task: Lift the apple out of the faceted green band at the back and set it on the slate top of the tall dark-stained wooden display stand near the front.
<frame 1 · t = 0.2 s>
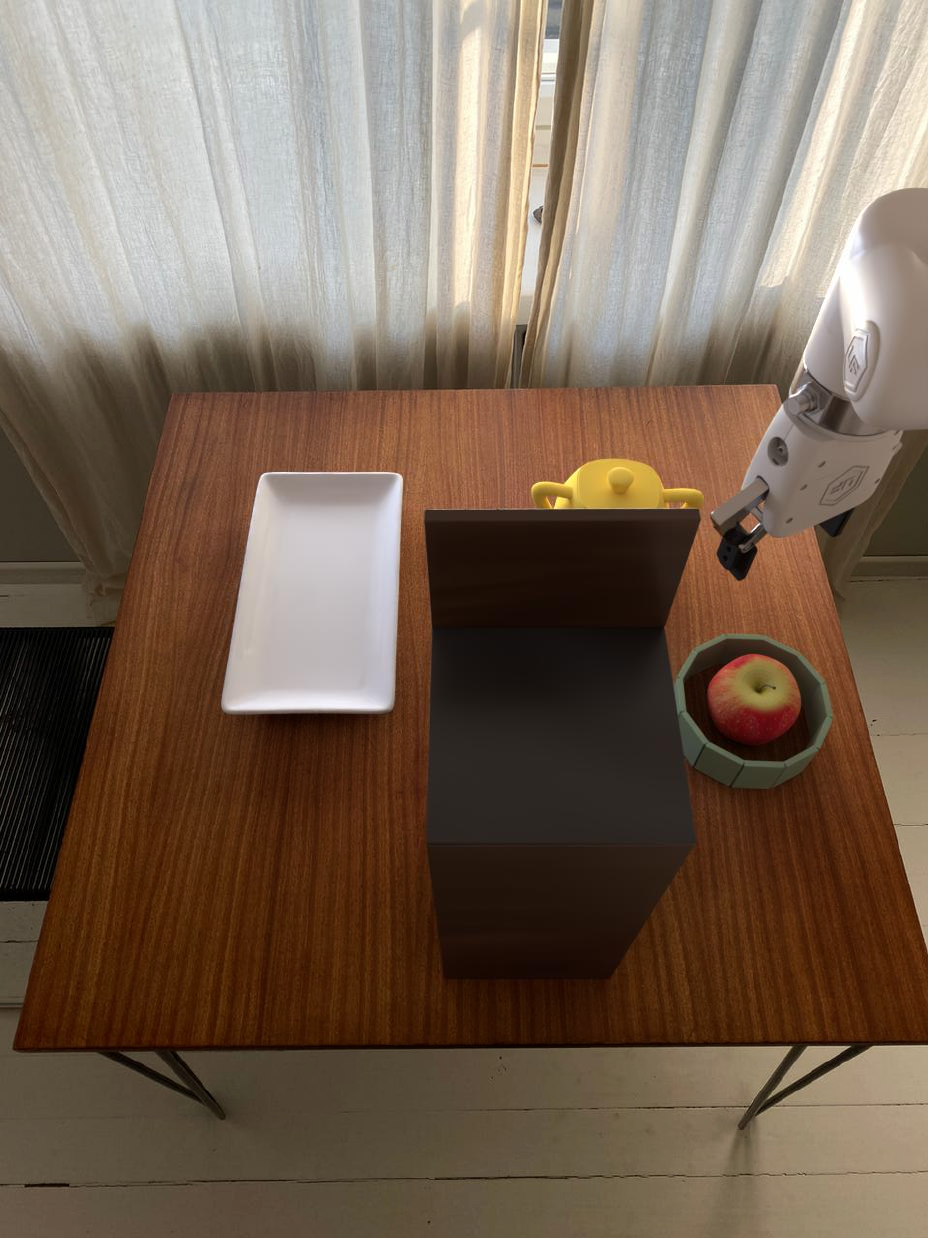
hand: (777, 545, 72), 21 cm above the table, tool pointing down, fingers open, 9 cm apart
faceted green band: (740, 721, 86), on the table
tray: (324, 599, 95), on the table
stand: (523, 895, 77), on the table
yellow two-handled pot: (606, 562, 98), on the table
apple: (740, 722, 87), resting in faceted green band
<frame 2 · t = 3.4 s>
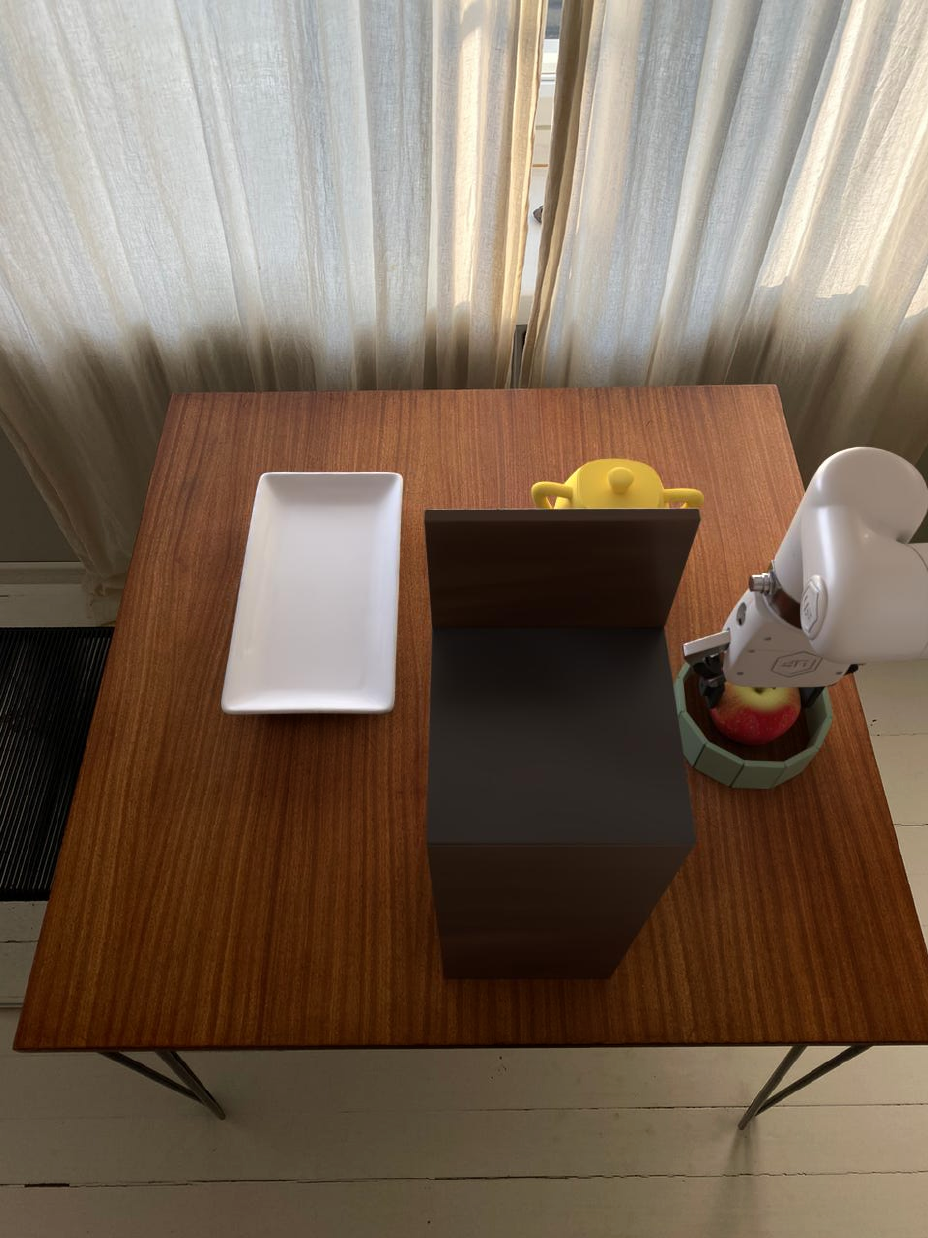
hand: (755, 694, 82), 5 cm above the table, tool pointing down, fingers closed on apple, 8 cm apart
apple: (740, 722, 87), resting in faceted green band, touching gripper
everything else where it was.
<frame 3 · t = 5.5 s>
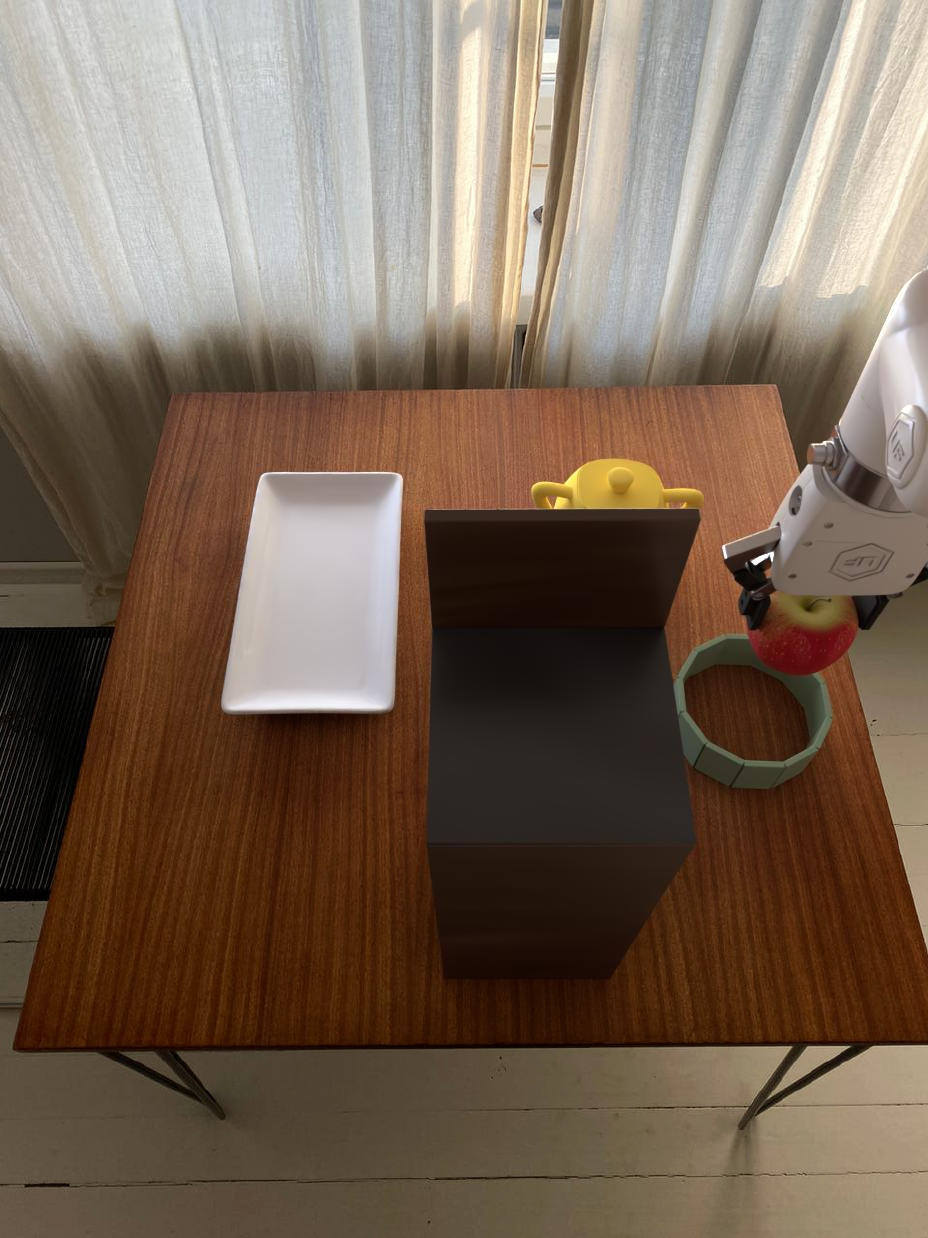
hand: (804, 615, 70), 20 cm above the table, tool pointing down, fingers closed on apple, 8 cm apart
apple: (783, 653, 75), point 14 cm above the table, touching gripper
everything else where it was.
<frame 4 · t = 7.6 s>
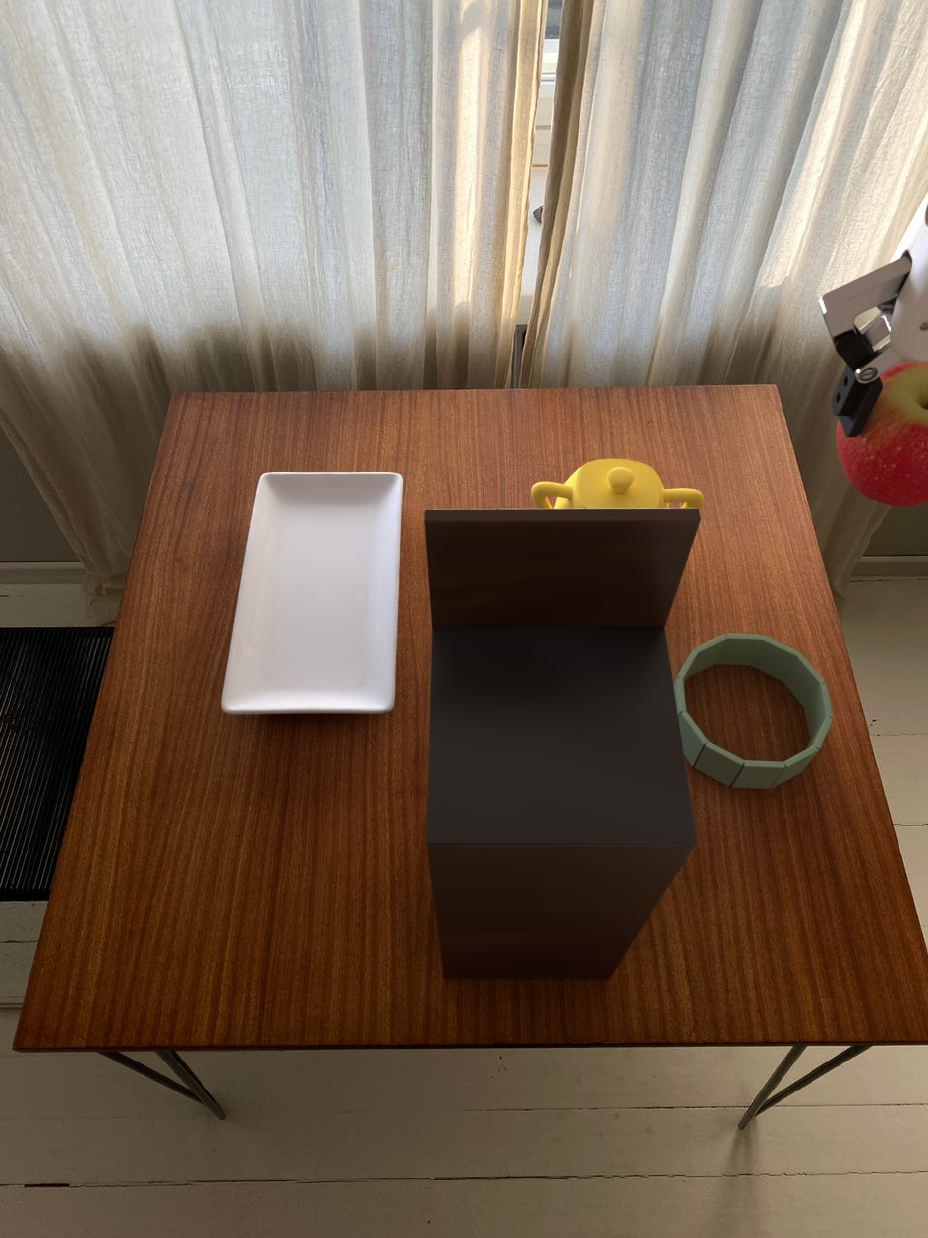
hand: (920, 419, 52), 41 cm above the table, tool pointing down, fingers closed on apple, 8 cm apart
apple: (882, 485, 56), point 35 cm above the table, touching gripper
everything else where it was.
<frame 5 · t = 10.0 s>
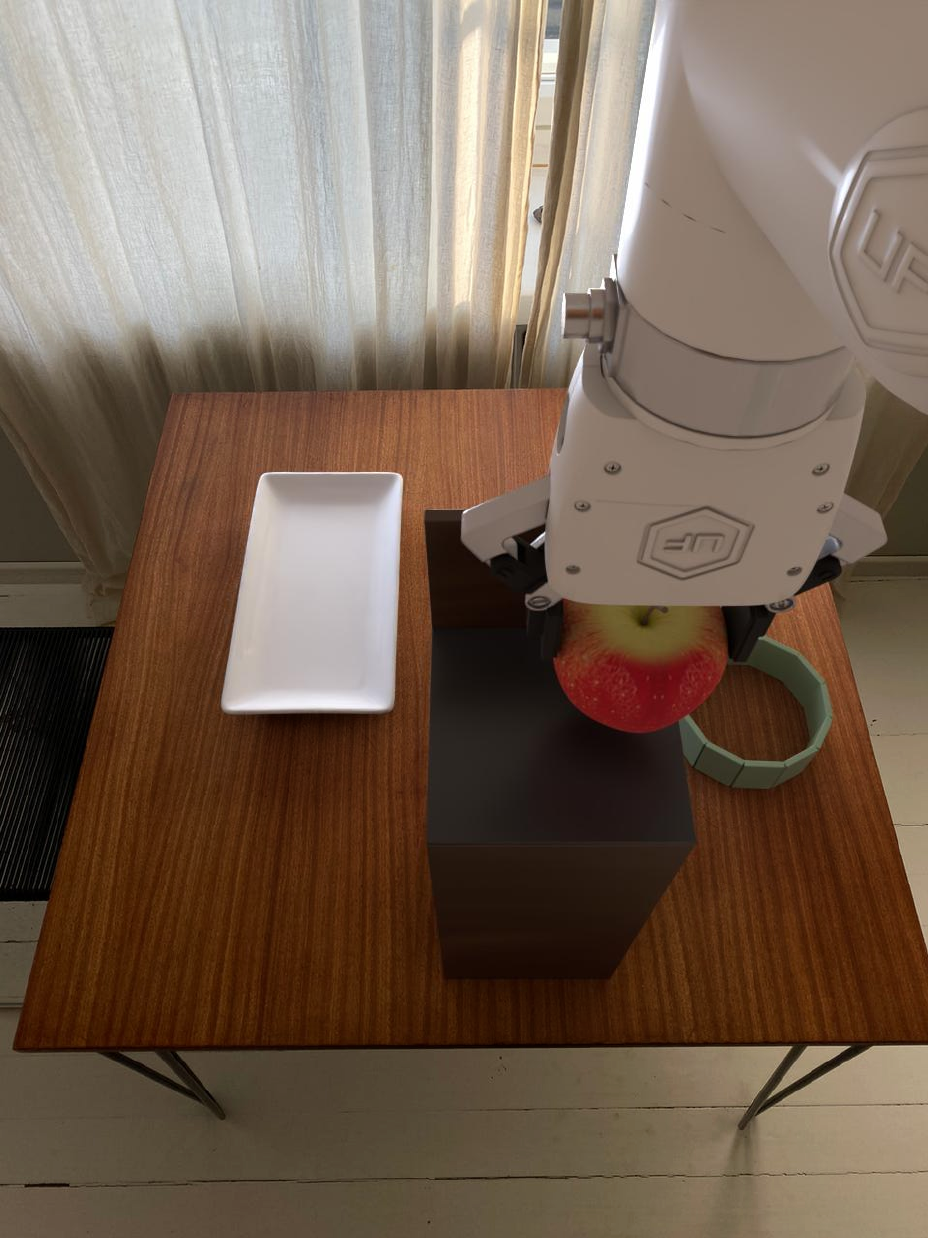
hand: (639, 634, 41), 43 cm above the table, tool pointing down, fingers closed on apple, 8 cm apart
apple: (622, 690, 46), point 37 cm above the table, touching gripper
everything else where it was.
when the fingers open (39 cm above the table, at t = 11.8 s): apple stays where it is, resting on stand.
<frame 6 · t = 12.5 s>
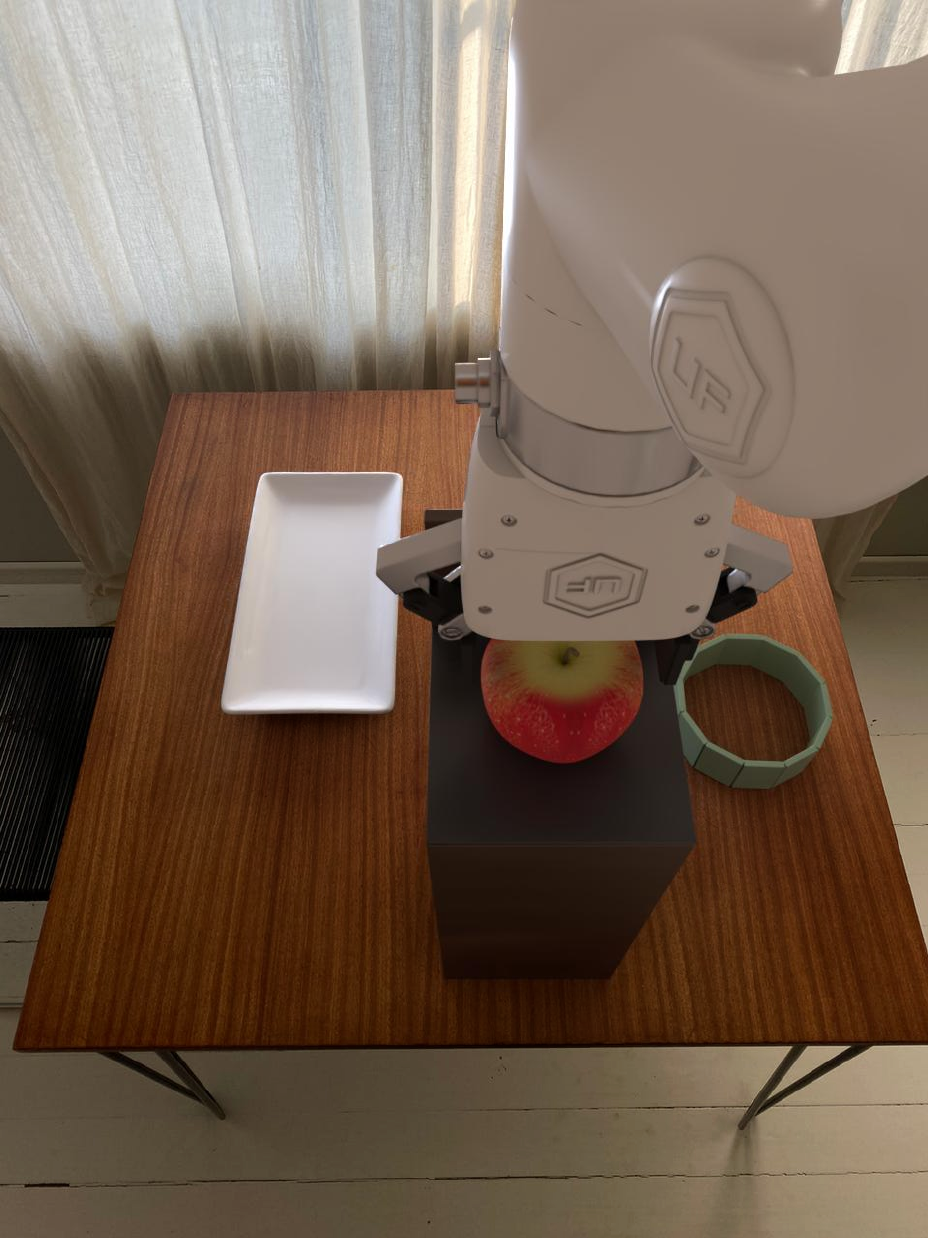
hand: (566, 660, 43), 41 cm above the table, tool pointing down, fingers open, 9 cm apart
apple: (553, 721, 49), point 34 cm above the table, touching stand
everything else where it was.
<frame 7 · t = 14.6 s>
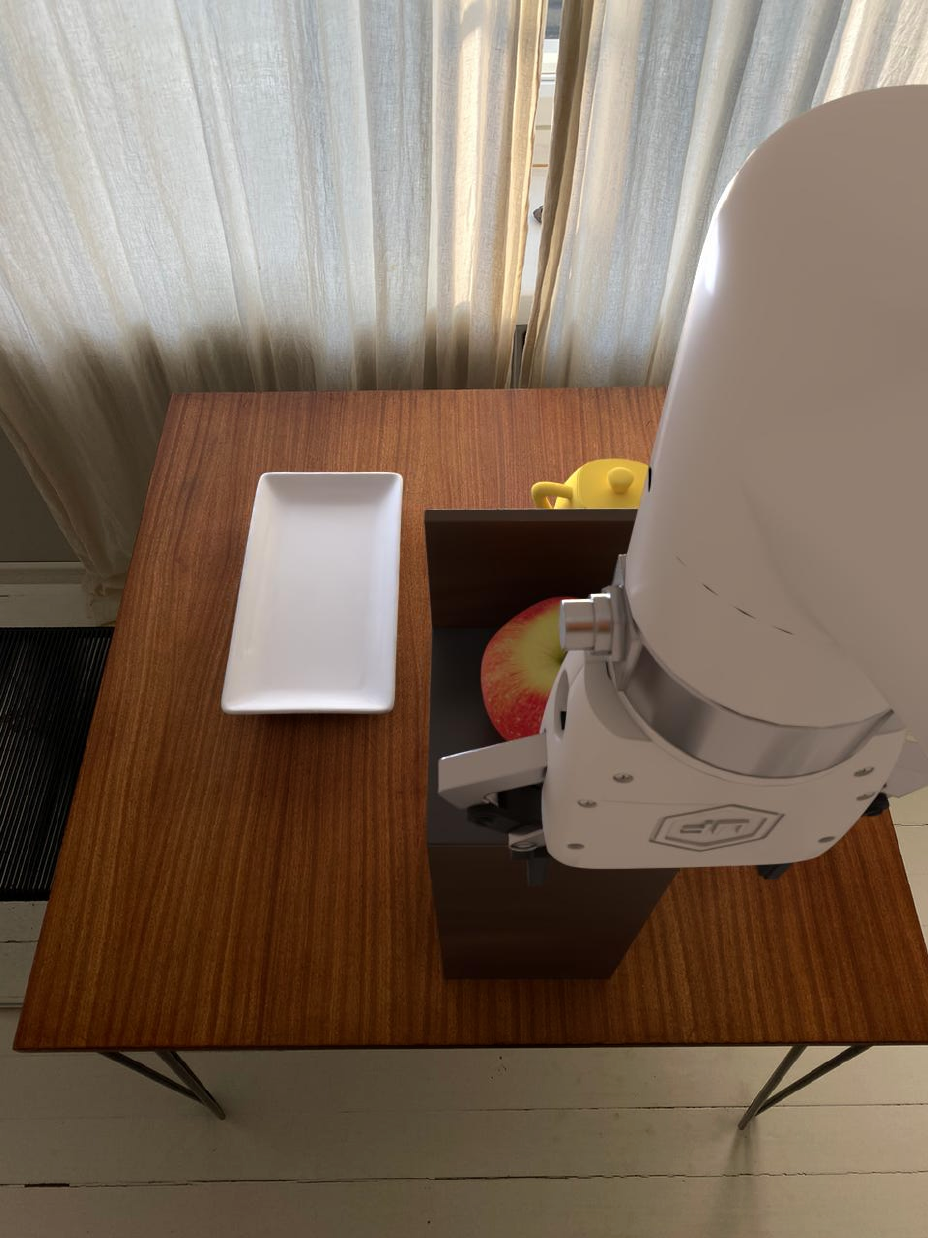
hand: (646, 847, 37), 42 cm above the table, tool pointing down, fingers open, 9 cm apart
nothing on the table moved.
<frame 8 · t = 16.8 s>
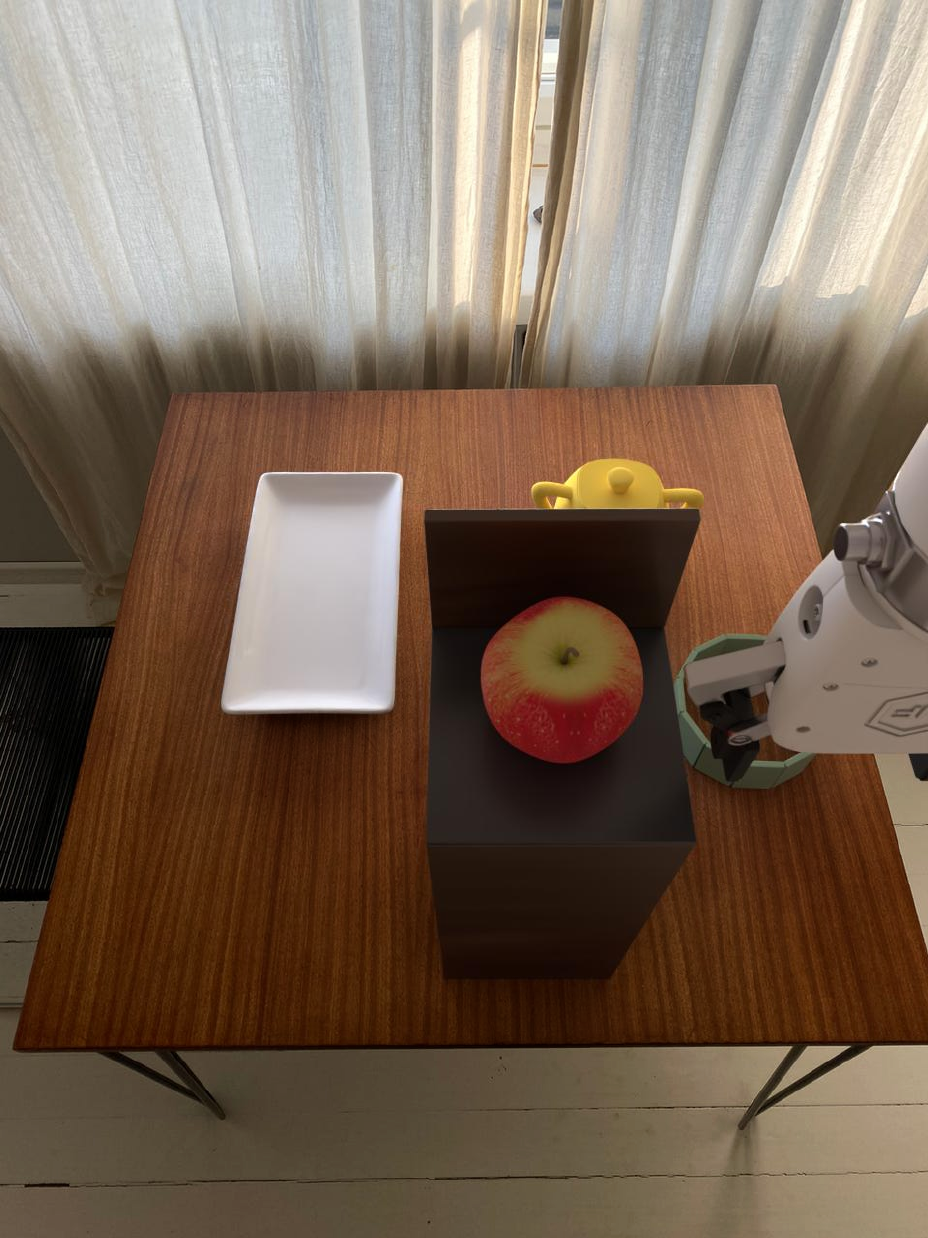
hand: (821, 754, 45), 36 cm above the table, tool pointing down, fingers open, 9 cm apart
nothing on the table moved.
at the end: apple inside the target area on the stand (0.1 cm from its centre), point 33.8 cm above the stand's base; the gripper is holding nothing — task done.
